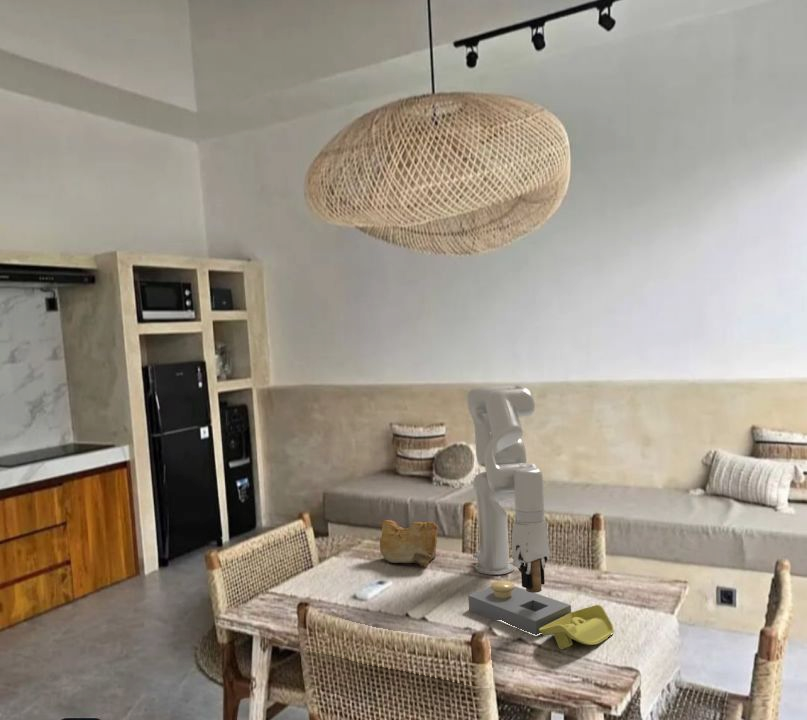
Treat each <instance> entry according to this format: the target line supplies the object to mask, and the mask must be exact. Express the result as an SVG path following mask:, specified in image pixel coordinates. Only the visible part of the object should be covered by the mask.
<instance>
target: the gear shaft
mask: <svg viewBox="0 0 807 720" xmlns="http://www.w3.org/2000/svg"><path fill="white" fill-rule="evenodd" d="M524 566H525V567H526V564H525V563H524ZM530 573H531V574H532V582H533V588H532V589H528V588H525V590H526V591H528V592H532V593H536V594H538V593H539V592H542V589H543V588H542V584H541V569H540V559H538V560H535V561H532V562H531V569H530Z"/></svg>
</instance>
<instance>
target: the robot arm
mask: <svg viewBox="0 0 807 720" xmlns="http://www.w3.org/2000/svg"><path fill="white" fill-rule="evenodd" d="M466 402H467V408H468V411H469V414H470V416H471V418H472V419H471V420H472V421H473V424H474V425H473V427H474V439H475V455H476V461H477V463H478V465H479V466H480V467H482V468H484V470H485V471H483V472H480V473H478V474H476V475H475V476H474V478H473V481H472V482H473V483H472V485H473V492H474V496H475V502H476V510H477V511H476V512H477V525H478V528H477V531H478V549H476V550H475V552H474V553H473V554H472V557H473V558H475V559H477V562H476V563H475V566H474V567H475V569H474V570H476V571H477V572H479V573H480V574H485V575H495V576H497V575H498V576H499V575H504V574H508V573H511V572H513V571H514V570H515V568H516V569H518V570H519V573H520V574H521V587H522V588H523V589H524V588H525V589H526V588H528V589H532V588H533V582H532V574H531V573H530V569H531V562H532V561H535V560H538V559H540V569H541V586H542V585H543V586H544V585H545V581H546V580H545V568H546V563H547V561H548V559H549V557H550V556H551V554H552V552H551V550H550V541H549V533H548V531H549V530H548V526H547V521H546V519H545V518H546V517H545V516H546V515H545V511H546V510H545V504H544V503H545V502H544V501H545V500H544V484H543V483H544V481H543V472H542V471H541V470H540V469H539V467H538V466H537V465H536V464H535V463H533V462H527V450H526V446H525V443H524V441H523V440H522V436H523V433H524V431H523V428H522V425H521V422H520V418H521V417H522V418H523V417H530V416H532V415H533V413H534V412H535V409H536V408H535V405H536V404H535V399H534V396H533V394H532V392H531V391H530V390H529V389H528V388H526V387H524V386H522V385H519V384H501V385H484V386H478V387H474V388H473V387H472V389H469V391H468V392H467V397H466ZM513 500H514V514H515V521H514V522H513V526H512V533H511V556H512V557H511V558H512V561H510V549H509V548H510V547H509V544H510V543H509V529H508V527H509V525H508V515H507V514H508V513H507V511H506V510H505V508H504V507H503V506H501V505H500V503H499V502H501V501H513ZM525 564H526V567H525Z"/></svg>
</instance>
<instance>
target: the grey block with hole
mask: <svg viewBox="0 0 807 720" xmlns="http://www.w3.org/2000/svg"><path fill="white" fill-rule="evenodd" d="M467 596H468V611H471V612H473V613H476V614H479V615H481V616H484V617H486V618H489V619H491V620H493V621H496V620H502V621H504V622H506V623H508V624H510V625H512V626H515V627H517V628H519V629H522V630H524V631H527V632H530V633H532V634H535V635H537V634H539V633H541V632H540V630H539V629H540V628H541V627H543V626H545V625H547V624H549V623H551V622H553V621H555V620H557V619H559V618H561V617H563V616H565V615H567V614H569V613H572V605H571V604H568V603H566V602H563V601H559V600H557V599H554V598H551V597H547V596H546V595H542V594H539V593H532V592H528V591H526V588H525V589H524V588H523V587H522V588H521V587H519V586H515V583H514V582H512V581H510V580H497V581H495V580H494V581H493V582H491V584H490V587H487V588H484V589H482V590H479V591H477V592H474V593H472V594H469V595H467Z"/></svg>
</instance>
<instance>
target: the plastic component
mask: <svg viewBox="0 0 807 720" xmlns="http://www.w3.org/2000/svg"><path fill="white" fill-rule="evenodd" d="M539 630H540V632H541V633H542V634H541V635H543V636H544V637H546V636H547V637H548V636H551V635H553V636H554V639H555V641H556V643H557V646H558V649H559V648H560V650H562V649H567V648H569V647H571V646H573V645H574V644H573V640H574V641H576V642H578V643H580V644H583V645H584V646H585V645H586V646H594V645H598V644H600V643H602V642H604V641H605V640H607V639H609V638H610V637H611V636H610V635H611V633H613V632H614V631H615V630H614V625H613V623H612V621H611V619H610V618H609V616H608V614H607V612H606V611H605V609H604V607H603V606H602V605H600V604H594V605H591V606H587V607H585V608H581V609H578V610H575V611H571V613H569V614H567V615H565V616H563V617H561V618H559V619H557V620H555V621H553V622H551V623H549V624H547V625H545V626H543V627H541V628H540V629H539ZM614 633H615V632H614ZM614 633H613V634H614ZM609 636H610V637H609ZM608 637H609V638H608Z"/></svg>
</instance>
